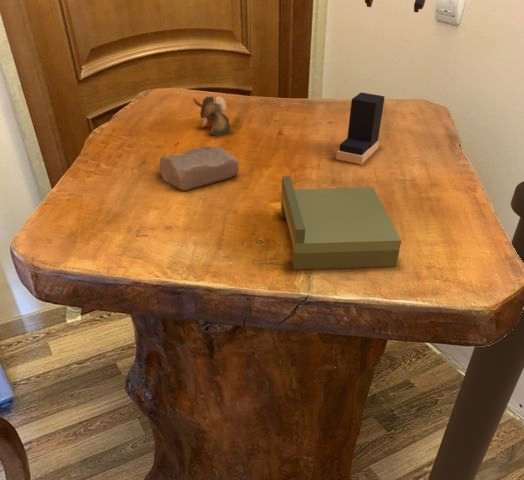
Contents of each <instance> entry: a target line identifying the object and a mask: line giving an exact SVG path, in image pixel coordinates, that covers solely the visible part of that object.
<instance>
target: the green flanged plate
mask: <svg viewBox="0 0 524 480" xmlns="http://www.w3.org/2000/svg"><path fill="white" fill-rule="evenodd" d="M280 199H281V201H280V216H281V219H286V224H287V226H288V227H287V228H288V232H289V236H290V240H291V244H292V260H291V261H292V262H291V264H292V269H293V271H295V270H297V271H298V270H300V271H302V270H326V269H327V270H330V269H358V268H387V267H388V268H390V267H397V264H398V260H399V254H400V250H401V245H402V239H401V237H400V234H399V233H398V231H397V229H396V228H395V225H394V224H393V222H392V220H391V217H390V216H389V215H388V212H387V211H386V208H385V206H384V204H383V203H382V201H381V199H380V198H379V196H378V194H377V192H376V190H375V188H374V187H372V186H371V187H367V186H366V187H365V186H364V187H331V188H330V187H329V188H327V187H323V188H322V187H321V188H319V187H318V188H295V187H294V185H293V182H292V178H291V175H290V176H289V175H287V176H281V198H280Z"/></svg>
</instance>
